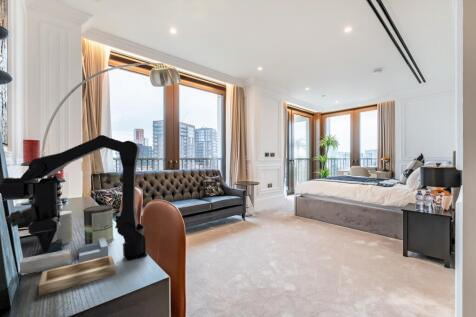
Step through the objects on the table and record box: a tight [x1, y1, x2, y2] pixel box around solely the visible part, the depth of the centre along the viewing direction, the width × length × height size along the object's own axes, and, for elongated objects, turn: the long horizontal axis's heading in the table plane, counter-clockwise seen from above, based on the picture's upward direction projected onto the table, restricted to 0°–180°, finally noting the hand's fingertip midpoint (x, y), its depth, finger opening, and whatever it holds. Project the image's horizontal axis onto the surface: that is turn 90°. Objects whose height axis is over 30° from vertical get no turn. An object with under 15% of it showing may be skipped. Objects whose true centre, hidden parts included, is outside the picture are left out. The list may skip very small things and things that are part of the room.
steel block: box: [19, 248, 72, 274], centre depth 72 cm, size 12×4×4 cm, turn 122°
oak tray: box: [38, 254, 117, 297], centre depth 66 cm, size 17×9×3 cm, turn 125°
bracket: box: [78, 237, 109, 263], centre depth 79 cm, size 8×10×4 cm
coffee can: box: [82, 204, 114, 245], centre depth 94 cm, size 10×10×14 cm
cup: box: [55, 210, 74, 246], centre depth 95 cm, size 8×8×12 cm
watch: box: [42, 222, 63, 255], centre depth 86 cm, size 6×8×11 cm
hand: (47, 247), depth 72 cm, fingers open, 9 cm apart
